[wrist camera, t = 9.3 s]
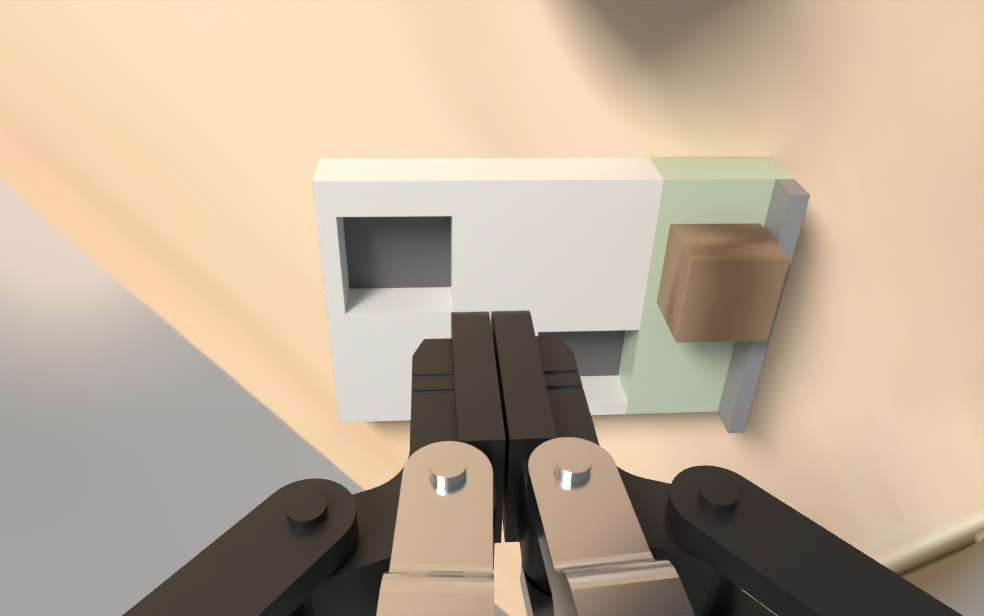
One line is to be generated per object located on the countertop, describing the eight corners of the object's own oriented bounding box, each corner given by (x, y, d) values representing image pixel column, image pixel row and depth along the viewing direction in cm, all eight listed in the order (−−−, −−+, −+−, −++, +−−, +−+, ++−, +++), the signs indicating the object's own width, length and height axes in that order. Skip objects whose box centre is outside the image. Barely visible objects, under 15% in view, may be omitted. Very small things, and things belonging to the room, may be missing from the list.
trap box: (772, 157, 42) (810, 195, 38) (717, 381, 51) (743, 432, 47) (319, 158, 40) (307, 197, 36) (343, 391, 49) (335, 444, 45)
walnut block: (760, 223, 41) (789, 259, 38) (741, 300, 44) (767, 340, 40) (670, 224, 41) (692, 260, 37) (656, 302, 43) (675, 342, 40)
